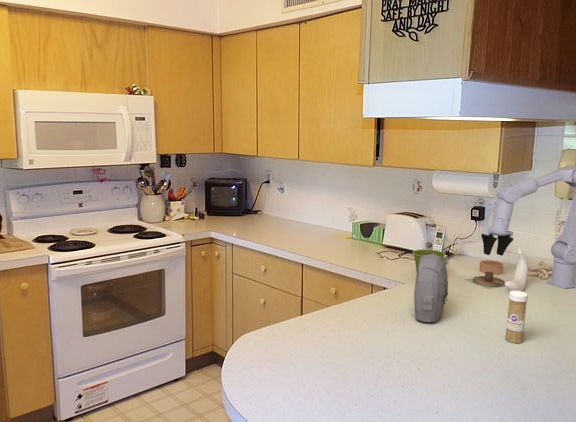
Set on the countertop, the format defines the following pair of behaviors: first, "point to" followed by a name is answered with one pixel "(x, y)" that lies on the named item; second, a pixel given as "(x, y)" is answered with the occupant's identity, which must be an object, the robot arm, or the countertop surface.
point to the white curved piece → (519, 274)
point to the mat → (482, 285)
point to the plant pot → (420, 253)
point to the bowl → (491, 267)
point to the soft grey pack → (430, 288)
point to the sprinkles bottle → (516, 316)
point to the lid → (488, 280)
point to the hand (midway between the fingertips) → (493, 254)
